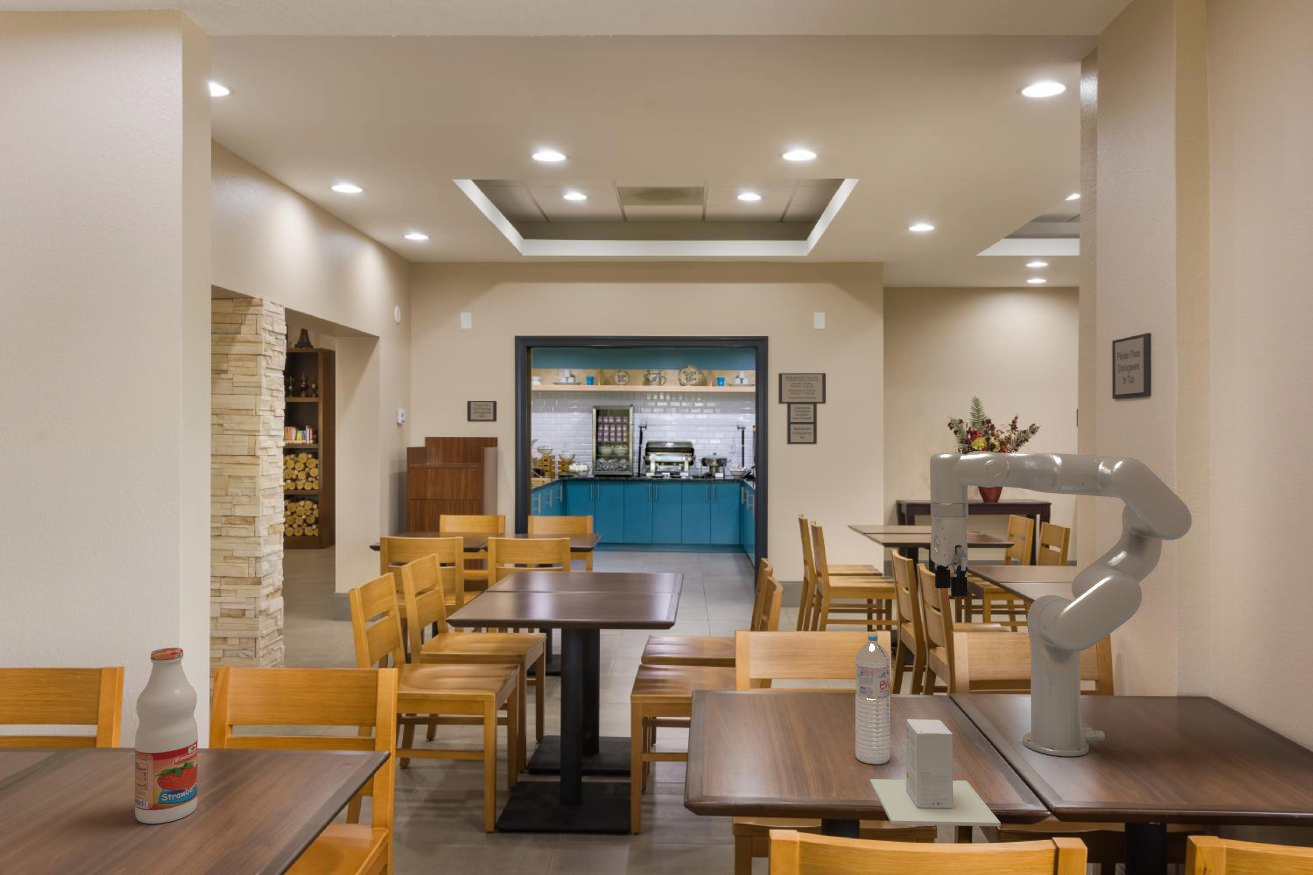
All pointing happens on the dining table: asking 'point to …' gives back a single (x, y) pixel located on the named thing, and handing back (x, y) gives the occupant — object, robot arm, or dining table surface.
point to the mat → (905, 811)
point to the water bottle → (872, 703)
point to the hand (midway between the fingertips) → (950, 591)
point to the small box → (929, 763)
